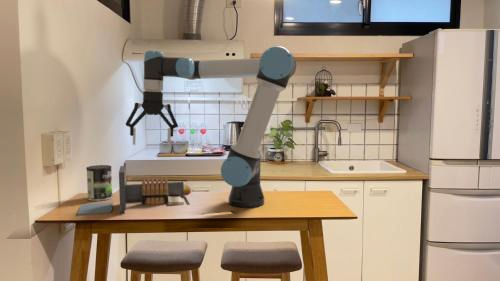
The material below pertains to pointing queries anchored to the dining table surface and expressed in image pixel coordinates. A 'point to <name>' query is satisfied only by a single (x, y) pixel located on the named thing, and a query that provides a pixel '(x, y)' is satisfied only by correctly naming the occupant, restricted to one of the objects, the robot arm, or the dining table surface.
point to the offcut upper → (175, 200)
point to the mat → (95, 208)
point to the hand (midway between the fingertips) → (151, 144)
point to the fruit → (186, 189)
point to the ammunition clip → (154, 192)
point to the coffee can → (99, 182)
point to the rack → (135, 190)
